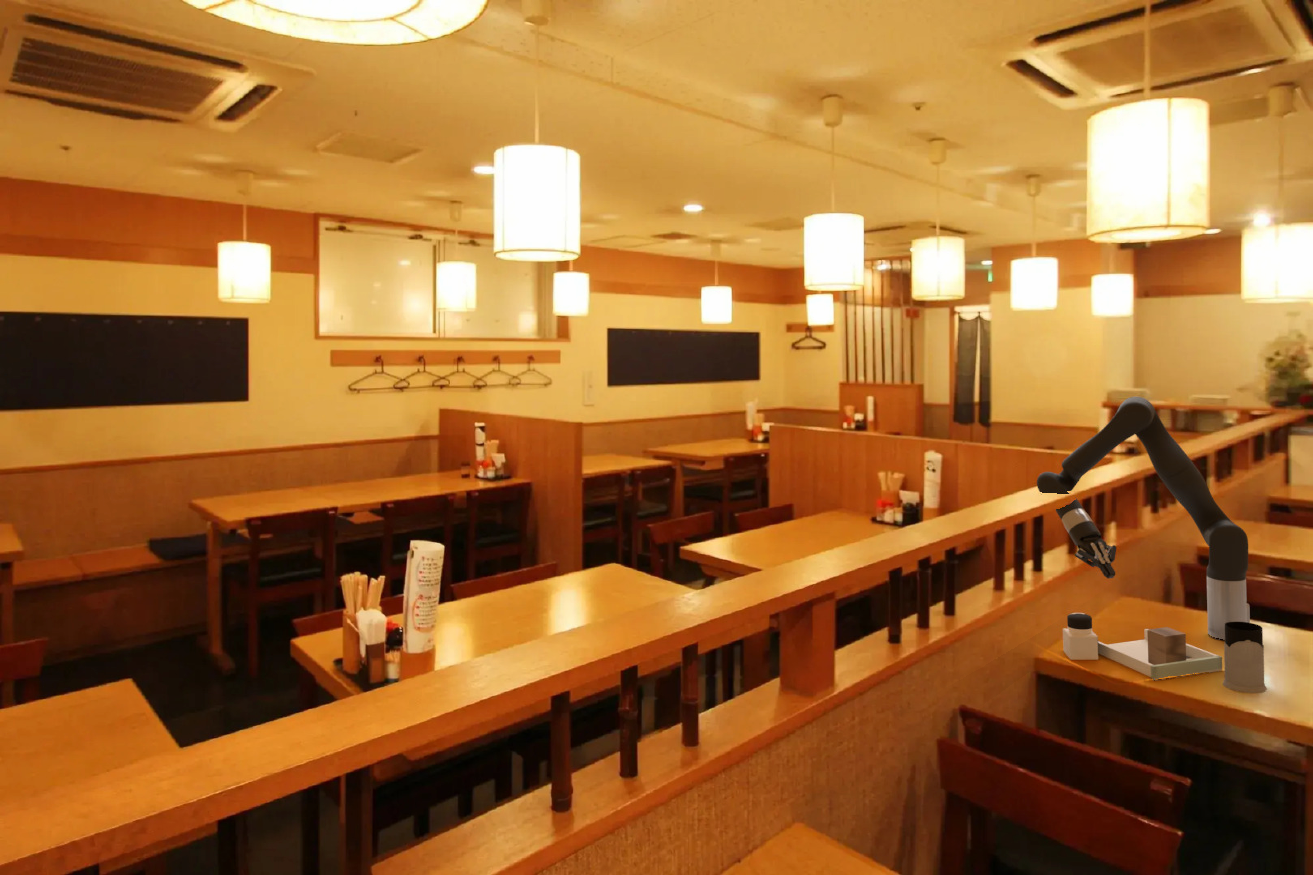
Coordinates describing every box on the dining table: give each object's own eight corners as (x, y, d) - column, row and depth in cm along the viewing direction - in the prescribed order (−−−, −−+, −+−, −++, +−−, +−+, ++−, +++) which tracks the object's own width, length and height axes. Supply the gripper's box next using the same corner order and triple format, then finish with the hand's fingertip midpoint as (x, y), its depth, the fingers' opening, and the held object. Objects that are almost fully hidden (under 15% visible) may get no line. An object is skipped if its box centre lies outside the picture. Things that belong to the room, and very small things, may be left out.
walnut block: (1168, 659, 217) (1167, 626, 217) (1186, 667, 211) (1185, 633, 211) (1148, 662, 216) (1147, 629, 216) (1166, 670, 210) (1165, 636, 210)
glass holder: (1227, 691, 197) (1226, 630, 196) (1213, 670, 210) (1212, 613, 209) (1271, 694, 193) (1270, 632, 192) (1254, 673, 206) (1253, 615, 205)
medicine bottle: (1099, 661, 221) (1097, 618, 220) (1070, 661, 223) (1069, 618, 222) (1090, 652, 228) (1089, 610, 227) (1063, 652, 229) (1061, 610, 229)
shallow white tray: (1147, 640, 234) (1147, 628, 234) (1222, 670, 209) (1222, 656, 209) (1085, 649, 231) (1085, 637, 230) (1154, 680, 206) (1153, 666, 206)
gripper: (1066, 522, 239) (1097, 572, 228) (1106, 517, 242) (1138, 567, 230) (1055, 536, 245) (1085, 586, 234) (1094, 532, 247) (1125, 581, 236)
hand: (1111, 576), depth 232 cm, fingers closed
